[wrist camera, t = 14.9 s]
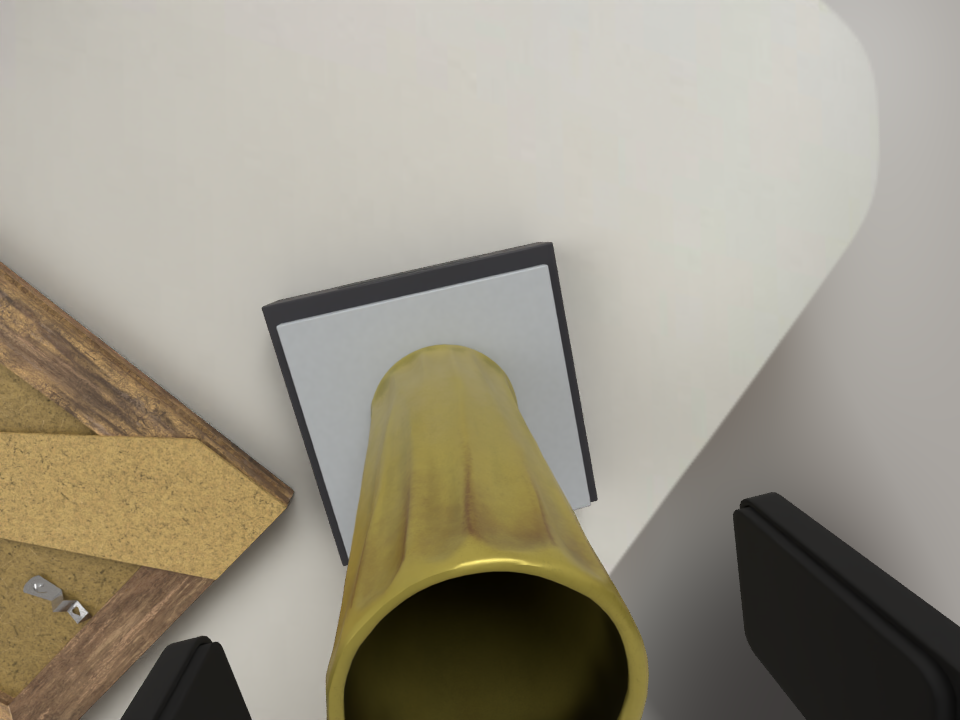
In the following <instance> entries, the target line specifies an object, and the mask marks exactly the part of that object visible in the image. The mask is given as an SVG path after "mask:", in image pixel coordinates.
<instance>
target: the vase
mask: <svg viewBox="0 0 960 720" xmlns="http://www.w3.org/2000/svg"><path fill="white" fill-rule="evenodd" d="M648 677H649V672H648V660H647V655H646V650H645V647H644V643H643V640H642V637H641V635H640V632H639V630H638V628H637V626H636V624H635V622H634V620H633V618H632V617H631V614H630V612H629V610H628V608H627V607H626V605H625V603H624V601H623V599H622V598H621V596H620V594H619V592H618V590H617V589H616V587H615V586H614V584H613V582H612V581H611V579H610V577H609V575H608V574H607V572H606V570H605V568H604V567H603V565H602V563H601V562H600V560H599V558H598V557H597V555H596V553H595V552H594V550H593V548H592V547H591V545H590V543H589V541H588V539H587V538H586V536H585V534H584V532H583V530H582V528H581V526H580V524H579V522H578V520H577V517H576V515H575V513H574V511H573V509H572V507H571V505H570V504H569V502H568V500H567V498H566V496H565V495H564V493H563V491H562V489H561V488H560V486H559V484H558V482H557V480H556V479H555V477H554V475H553V473H552V471H551V469H550V467H549V466H548V464H547V462H546V460H545V459H544V457H543V455H542V453H541V451H540V449H539V447H538V445H537V442H536V441H535V439H534V437H533V435H532V434H531V432H530V430H529V428H528V426H527V425H526V423H525V421H524V419H523V417H522V415H521V413H520V411H519V409H518V403H517V398H516V395H515V392H514V389H513V386H512V384H511V382H510V380H509V378H508V376H507V375H506V373H505V372H504V371H503V370H502V368H501V367H500V366H499V365H498V364H496V363H495V362H494V361H493V360H491V359H490V358H489V357H487V356H486V355H484V354H482V353H480V352H478V351H476V350H474V349H471V348H468V347H465V346H460V345H449V344H442V345H433V346H428V347H424V348H421V349H419V350H416V351H414V352H412V353H410V354H408V355H406V356H405V357H403V358H402V359H400V360H399V361H398V362H396V363H395V364H394V365H393V366H392V367H391V368H390V369H389V370H388V371H387V373H386V374H385V375H384V377H383V378H382V379H381V381H380V383H379V385H378V387H377V389H376V392H375V394H374V397H373V399H372V403H371V424H370V432H369V440H368V447H367V453H366V458H365V464H364V470H363V477H362V483H361V491H360V497H359V503H358V508H357V514H356V520H355V527H354V533H353V539H352V545H351V551H350V557H349V562H348V568H347V573H346V579H345V585H344V592H343V600H342V606H341V611H340V616H339V622H338V627H337V632H336V637H335V642H334V647H333V651H332V655H331V658H330V662H329V665H328V669H327V674H326V707H327V720H641V718H642V714H643V710H644V706H645V702H646V698H647V690H648Z"/></svg>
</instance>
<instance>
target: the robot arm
mask: <svg viewBox="0 0 960 720" xmlns="http://www.w3.org/2000/svg"><path fill="white" fill-rule="evenodd" d="M733 521H734V531H735V541H736V550H737V560H738V571H739V580H740V591H741V600H742V610H743V620H744V629H745V635H746V638H747V641H748V643H749V645H750V647H751V649H752V651H753V652H754V653H755V655H756V656H757V657H758V659H759V660H760V661H761V663H762V664H763V665H764V666H765V668H766V669H767V670H768V671H769V673H770V674H771V675H772V677H773V678H774V679H775V680H776V682H777V683H778V684H779V685H780V687H781V688H782V689H783V691H784V692H785V693H786V694H787V696H788V697H789V698H790V699H791V701H792V702H793V703H794V704H795V706H796V707H797V708H798V710H799V711H800V712H801V713H802V715H803V716H804V717H805V718H806V720H960V627H959V626H958V625H957V624H955V623H954V622H953V621H951V620H950V619H948V618H947V617H946V616H944V615H943V614H941V613H940V612H939V611H938V610H936V609H935V608H933V607H932V606H931V605H929V604H928V603H927V602H925V601H924V600H923V599H921V598H920V597H918V596H917V595H916V594H914V593H913V592H912V591H910V590H909V589H907V588H906V587H905V586H904V585H902V584H901V583H899V582H898V581H897V580H895V579H894V578H893V577H891V576H890V575H889V574H887V573H886V572H884V571H883V570H882V569H880V568H879V567H878V566H876V565H875V564H874V563H872V562H871V561H869V560H868V559H867V558H865V557H864V556H862V555H861V554H860V553H858V552H857V551H856V550H854V549H853V548H852V547H850V546H849V545H847V544H846V543H845V542H843V541H842V540H841V539H839V538H838V537H837V536H835V535H834V534H833V533H831V532H830V531H828V530H827V529H826V528H824V527H823V526H822V525H820V524H819V523H818V522H816V521H815V520H813V519H812V518H811V517H809V516H808V515H807V514H805V513H804V512H803V511H801V510H800V509H799V508H797V507H796V506H794V505H793V504H792V503H790V502H789V501H788V500H786V499H785V498H784V497H782V496H781V495H779V494H777V493H775V492H771V493H767V494H763V495H759V496H755V497H751V498H747V499H744V500H742V501H741V504H740V509H738V510H735V512H734V514H733ZM120 720H252V719H251V716H250V714H249V711H248V709H247V707H246V704H245V702H244V699H243V697H242V694H241V692H240V689H239V687H238V684H237V682H236V679H235V677H234V675H233V672H232V670H231V667H230V665H229V662H228V660H227V657H226V655H225V652H224V650H223V648H222V646H221V644H220V643H218V642H213V643H212V641H211V640H210V639H209V638H208V637H207V636H200V637H196V638H192V639H188V640H184V641H180V642H176V643H172V644H170V645H168V646H167V647H166V648H165V649H164V651H163V652H162V654H161V655H160V657H159V659H158V660H157V662H156V663H155V665H154V667H153V668H152V670H151V671H150V673H149V675H148V676H147V678H146V679H145V681H144V683H143V684H142V686H141V687H140V689H139V691H138V692H137V694H136V695H135V697H134V699H133V700H132V702H131V703H130V705H129V707H128V708H127V710H126V711H125V713H124V715H123V716H122V718H121V719H120Z"/></svg>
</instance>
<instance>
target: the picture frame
mask: <svg viewBox="0 0 960 720" xmlns="http://www.w3.org/2000/svg"><path fill="white" fill-rule="evenodd" d="M293 494H294V491H293V490H292V489H291V488H290V487H288V486H287V485H286V484H285V483H283V482H282V481H281V480H279V479H278V478H277V477H276V476H274V475H273V474H272V473H271V472H269V471H268V470H267V469H265V468H264V467H263V466H262V465H260V464H259V463H258V462H256V461H255V460H254V459H253V458H251V457H250V456H249V455H247V454H246V453H245V452H244V451H242V450H241V449H240V448H238V447H237V446H236V445H235V444H233V443H232V442H231V441H229V440H228V439H227V438H226V437H224V436H223V435H222V434H221V433H219V432H218V431H217V430H215V429H214V428H213V427H212V426H210V425H209V424H208V423H206V422H205V421H204V420H203V419H201V418H200V417H199V416H197V415H196V414H195V413H194V412H192V411H191V410H190V409H188V408H187V407H186V406H185V405H183V404H182V403H181V402H179V401H178V400H177V399H176V398H174V397H173V396H172V395H171V394H169V393H168V392H167V391H165V390H164V389H163V388H162V387H160V386H159V385H158V384H156V383H155V382H154V381H153V380H151V379H150V378H149V377H147V376H146V375H145V374H144V373H142V372H141V371H140V370H138V369H137V368H136V367H135V366H133V365H132V364H131V363H129V362H128V361H127V360H126V359H124V358H123V357H122V356H121V355H119V354H118V353H117V352H115V351H114V350H113V349H112V348H110V347H109V346H108V345H106V344H105V343H104V342H103V341H101V340H100V339H99V338H97V337H96V336H95V335H94V334H92V333H91V332H90V331H88V330H87V329H86V328H85V327H83V326H82V325H81V324H80V323H78V322H77V321H76V320H74V319H73V318H72V317H71V316H69V315H68V314H67V313H65V312H64V311H63V310H62V309H60V308H59V307H58V306H56V305H55V304H54V303H53V302H51V301H50V300H49V299H47V298H46V297H45V296H44V295H42V294H41V293H40V292H38V291H37V290H36V289H35V288H33V287H32V286H31V285H30V284H28V283H27V282H26V281H24V280H23V279H22V278H21V277H19V276H18V275H17V274H15V273H14V272H13V271H12V270H10V269H9V268H8V267H6V266H5V265H4V264H3V263H1V262H0V720H79V719H80V718H81V717H82V716H83V715H84V714H85V713H86V712H87V711H88V709H89V708H90V707H91V706H92V705H93V704H94V703H95V702H96V701H97V700H98V699H99V698H100V697H101V696H102V695H103V694H104V693H105V692H106V691H107V690H108V689H109V688H110V687H111V686H112V685H113V684H114V683H115V682H116V681H117V680H118V679H119V678H120V677H121V676H122V675H123V674H124V673H125V672H126V671H127V670H128V669H129V668H130V667H131V666H132V665H133V663H134V662H135V661H136V660H137V659H138V658H139V657H140V656H141V655H142V654H143V653H144V652H145V651H146V650H147V649H148V648H149V647H150V646H151V645H152V644H153V643H154V642H155V641H156V640H157V639H158V638H159V637H160V636H161V635H162V634H163V633H164V632H165V631H166V630H167V629H168V628H169V627H170V626H171V625H172V624H173V623H174V622H175V621H176V620H177V619H178V617H179V616H180V615H181V614H182V613H183V612H184V611H185V610H186V609H187V608H188V607H189V606H190V605H191V604H192V603H193V602H194V601H195V600H196V599H197V598H198V597H199V596H200V595H201V594H202V593H203V592H204V591H205V590H206V589H207V588H208V587H209V586H210V585H211V584H212V583H213V582H214V581H215V580H216V579H217V578H218V577H219V576H220V575H221V574H222V573H223V572H224V571H225V570H226V569H227V568H228V567H229V566H230V565H231V564H232V563H233V562H234V561H235V560H236V559H237V558H238V557H239V556H240V555H241V554H242V553H243V552H244V551H245V550H246V549H247V548H248V547H249V546H250V545H251V544H252V543H253V542H254V541H255V540H256V539H257V538H258V537H259V536H260V535H261V534H262V533H263V531H264V530H265V529H266V528H267V527H268V526H269V525H270V524H271V523H272V522H273V521H274V520H275V519H276V518H277V517H278V516H279V515H280V514H281V513H282V512H283V511H284V510H285V509H286V508H287V506H288V504H289V502H290V499H291V498H292V496H293Z"/></svg>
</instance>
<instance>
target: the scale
mask: <svg viewBox="0 0 960 720" xmlns="http://www.w3.org/2000/svg"><path fill="white" fill-rule="evenodd" d="M262 311H263V314H264V317H265V320H266V324H267V327H268V330H269V333H270V336H271V339H272V343H273V346H274V349H275V352H276V355H277V358H278V362H279V365H280V368H281V371H282V374H283V377H284V381H285V384H286V387H287V390H288V393H289V396H290V400H291V403H292V406H293V409H294V412H295V415H296V419H297V422H298V425H299V428H300V431H301V434H302V438H303V441H304V444H305V447H306V450H307V453H308V457H309V460H310V463H311V466H312V469H313V472H314V476H315V479H316V482H317V485H318V488H319V491H320V495H321V498H322V501H323V504H324V507H325V510H326V514H327V517H328V520H329V523H330V526H331V529H332V533H333V536H334V539H335V542H336V545H337V548H338V552H339V555H340V558H341V561H342V564H343V566H346V565H348V562H349V557H350V551H351V545H352V539H353V533H354V527H355V520H356V514H357V508H358V503H359V497H360V491H361V483H362V477H363V470H364V464H365V458H366V453H367V447H368V440H369V432H370V424H371V403H372V399H373V397H374V394H375V392H376V389H377V387H378V385H379V383H380V381H381V379H382V378H383V377H384V375H385V374H386V373H387V371H388V370H389V369H390V368H391V367H392V366H393V365H394V364H395V363H396V362H398V361H399V360H400V359H402V358H403V357H405V356H406V355H408V354H410V353H412V352H414V351H416V350H419V349H421V348H424V347H428V346H433V345H442V344H449V345H460V346H465V347H468V348H471V349H474V350H476V351H478V352H480V353H482V354H484V355H486V356H487V357H489V358H490V359H491V360H493V361H494V362H495V363H496V364H498V365H499V366H500V367H501V368H502V370H503V371H504V372H505V373H506V375H507V376H508V378H509V380H510V382H511V384H512V386H513V389H514V392H515V395H516V398H517V403H518V409H519V411H520V413H521V415H522V417H523V419H524V421H525V423H526V425H527V426H528V428H529V430H530V432H531V434H532V435H533V437H534V439H535V441H536V442H537V445H538V447H539V449H540V451H541V453H542V455H543V457H544V459H545V460H546V462H547V464H548V466H549V467H550V469H551V471H552V473H553V475H554V477H555V479H556V480H557V482H558V484H559V486H560V488H561V489H562V491H563V493H564V495H565V496H566V498H567V500H568V502H569V504H570V505H571V507H572V509H573V510H576V509H580V508H583V507H587V506H590V505H591V503H590V502H593V501H597V499H598V498H597V493H596V487H595V481H594V476H593V470H592V464H591V459H590V453H589V447H588V442H587V436H586V430H585V425H584V419H583V413H582V408H581V402H580V396H579V390H578V385H577V379H576V373H575V368H574V362H573V356H572V351H571V345H570V339H569V334H568V328H567V322H566V317H565V311H564V305H563V300H562V294H561V288H560V282H559V277H558V271H557V265H556V260H555V254H554V248H553V243H552V242H537V243H532V244H528V245H523V246H519V247H514V248H510V249H505V250H501V251H496V252H492V253H488V254H483V255H479V256H473V257H468V258H464V259H459V260H455V261H450V262H446V263H441V264H437V265H433V266H428V267H424V268H419V269H415V270H410V271H406V272H401V273H397V274H392V275H388V276H383V277H379V278H374V279H370V280H365V281H361V282H356V283H352V284H347V285H343V286H340V287H335V288H331V289H326V290H322V291H318V292H313V293H309V294H304V295H300V296H295V297H291V298H286V299H282V300H278V301H275V302H273V303H271V304H268V305H266V306H263V307H262Z"/></svg>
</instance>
